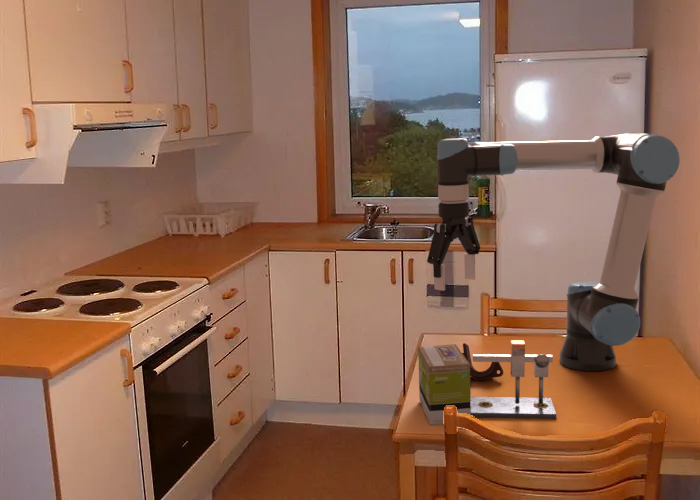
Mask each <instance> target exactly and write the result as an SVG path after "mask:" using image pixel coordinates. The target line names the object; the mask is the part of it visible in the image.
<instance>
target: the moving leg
mask: <svg viewBox="0 0 700 500" xmlns="http://www.w3.org/2000/svg"><path fill="white" fill-rule="evenodd" d="M510 355H512V362H510V376H511V378H514V379H515V384H514V385H515V387H514V388H515V391H514V392H515V403H516V404H519V399H520V398H521V396H520V389H521V383H520V382H521V381H520V379H521V378H525V376H526V375H525V372H526V371H525V370H526V362H525V355H526V343H525V340H520V339H519V340H516V339H515V340H513V339H512V340H510Z"/></svg>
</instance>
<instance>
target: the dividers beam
mask: <svg viewBox="0 0 700 500" xmlns="http://www.w3.org/2000/svg"><path fill="white" fill-rule="evenodd" d="M553 359H554V358H553V354H544V353H539V354H525V363H533V367H534V368H533V369H534V370H533V372H534V373H533V375H534V377H535V378H538V398H539V404H543V398H544V378H549V364H550V363H553V362H554V361H553ZM472 361H473V363H492V362H499V363H511V362H512V355H511V354H507V353H506V354H504V353H503V354H499V353H497V354H496V353H495V354H491V353H487V354H486V353H483V354H481V353H479V354H477V353H473V354H472Z"/></svg>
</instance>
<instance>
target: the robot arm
mask: <svg viewBox="0 0 700 500" xmlns="http://www.w3.org/2000/svg"><path fill="white" fill-rule="evenodd" d="M676 146H677V145H675V143H674V142H673V141H672V140H671V139H669V138H668V137H665V136H663V135H660V134H657V133H640V132H627V133H621V134H615V135H604V136H603V135H602V136H601V135H600V136H594V137H593V138H592V139H591V140H590V139H588V140H587V139H586V140H546V141H545V140H543V141H539V140H538V141H537V140H536V141H533V140H532V141H529V140H528V141H489V142H487V141H473V142H471V143H469V142H468V139H467V138H462V137H460V138H458V137H457V138H445V139H444V138H443V139H440V140H439V141H438V142H437V150H436V153H437V155H436V161H437V162H436V163H437V164H436V165H437V166H436V167H437V186H438V187H437V190H438V191H437V192H438V193H437V195H438V196H437V197H438V201H439V203H438V206H437V207H438V216H439V217H440V218H441V219H442V222H441V223H434V225H433V235H432V239H431V244H430V248H429V251H428V254H427V255H428V256H427V260H426V262H427V263H428V264H431V265H432V268H433V270H432V271H433V277H434V278H433V284H434V286H433V287H434V289H433V290H436V291H442V292H443V291H444V292H445V291H446V273H445V272H446V270H445V269H446V266H445V264H443V262H444V260H445V258H446V254H447V253H448V250H449V248H450V246H451V244H452V243H453V241H454V240H456V239H457V238H458V240H459V242H460V244H461V245H462V247H463V249H464V250H465V253H464V255H463V257H464V259H463V260H464V279H467V280H473V281H474V280H476V255H479V254H480V250H481V245H480V242H479V239H478V235H477V233H476V229H475V226H474V218H473V216H470V215H469V214H470V207H469V206H470V205H469V204H470V203H469V202H468V201H469V199H470V191H469V190H470V189H469V177H480V176H481V177H483V176H504V175H505V176H506V175H512V174H514V173H515V172H516V171H532V170H533V171H540V170H541V171H543V170H544V171H545V170H548V171H549V170H550V171H551V170H557V171H558V170H592V172H593V173H596V174H598V173H599V174H600V173H601V174H602V173H604V174H605V173H606V174H613V175H617V179H616V185H617V187H618V188H619V190H620V193H619V197H618V203H617V207H616V211H615V215H614V219H613V223H612V228H611V233H610V237H609V240H608V245H607V251H606V254H605V259H604V264H603V267H602V272H601V276H600V280H599V281H579V282H578V281H577V282H572V283H570V284H569V285H568V287H567V293H566V303H567V304H566V336H565V338H564V341H563V345H562V347H561V349H560V352H559V362H560V364H561V365H563V366H564V367H566V368H569V369H572V370H577V371H582V372H583V371H584V372H602V371H603V372H604V371H609V370H611V369H613V368H615V367H616V366H617V356H616V352H615V349H614V347H618V346H622V345H625V344H627V343H628V342H630V341H632V340H633V339H635V337H636V336H637V334H638V333H639V330H640V327H641V318H640V315H639V312H638V311H637V306H638V302H639V299H640V296H639V294H638V293H637V291H636V290H635V289H636V288H635V287H636V284H637V279H638V274H639V270H640V266H641V262H642V259H643V254H644V249H645V245H646V241H647V238H648V237H647V236H648V233H649V229H650V225H651V221H652V217H653V212H654V208H655V204H656V199H658V198H657V197H659V196H660V195H661V194H664V193H665V191H666V185H667V182H668V181H670V179H671V178H673V177H674V176H675V175H676V174H677V172H678V170H679V167H680V160H681V157H680V152H679V150H678V148H677V147H676Z"/></svg>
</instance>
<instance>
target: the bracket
mask: <svg viewBox="0 0 700 500" xmlns="http://www.w3.org/2000/svg"><path fill="white" fill-rule="evenodd" d="M462 349H463V350H462V351H463V352H462V354H463V355H464V357H465V358H466V360H467V361H468V362H469V364H470V378H471V377H472V378H473V379H474V380H476V381H482V380H488V379H495V378H500V377H502V376H504V369H503V367H502V365H501V364H500V363H501V362H490V366H489V367H488V368H487V369H486V370H482V371H479V370H477V369H476V368H475V367H474V366H473V364H472V358H471V357H472V356H471V352H470V347H469V345H468V344H467V343H465V342H463V344H462ZM498 372H499V373H498Z"/></svg>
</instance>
